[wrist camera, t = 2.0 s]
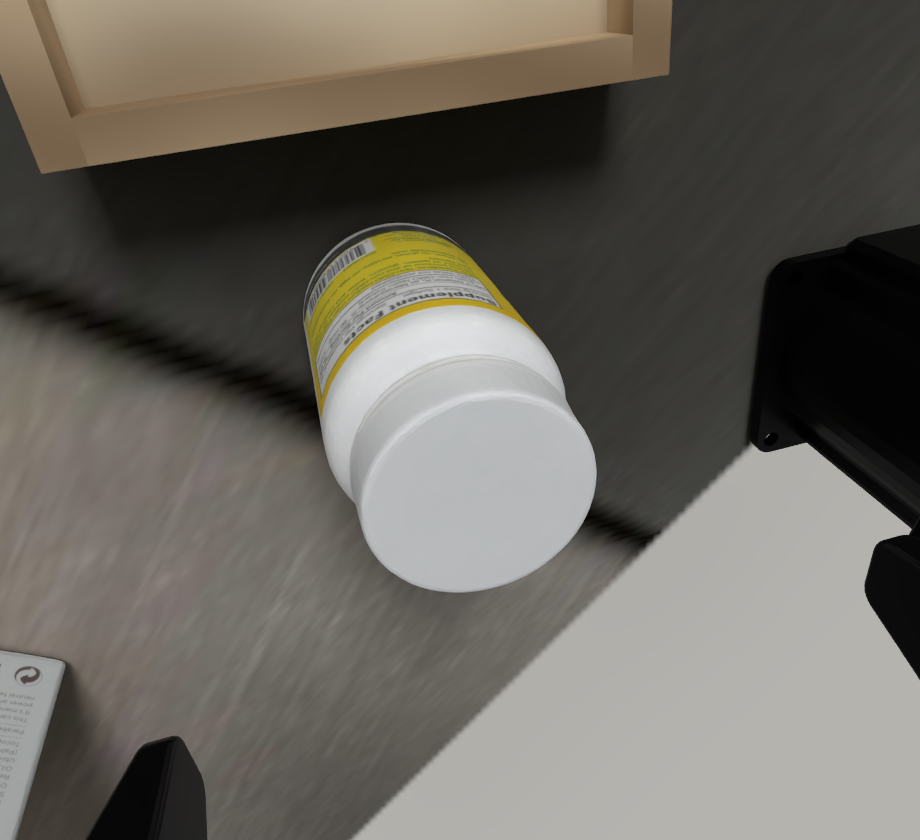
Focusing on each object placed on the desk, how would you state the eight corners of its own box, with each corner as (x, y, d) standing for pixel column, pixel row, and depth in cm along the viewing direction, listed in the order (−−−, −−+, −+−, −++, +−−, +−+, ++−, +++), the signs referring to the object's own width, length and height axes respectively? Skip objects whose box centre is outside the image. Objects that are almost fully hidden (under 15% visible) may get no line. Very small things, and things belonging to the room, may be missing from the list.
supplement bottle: (478, 385, 20) (597, 595, 13) (308, 398, 19) (340, 634, 12) (489, 215, 18) (643, 361, 11) (295, 218, 17) (327, 383, 10)
